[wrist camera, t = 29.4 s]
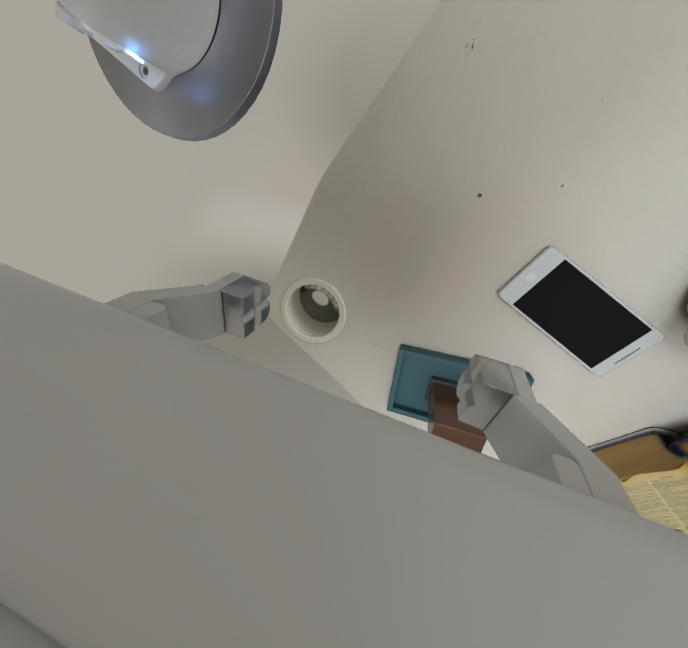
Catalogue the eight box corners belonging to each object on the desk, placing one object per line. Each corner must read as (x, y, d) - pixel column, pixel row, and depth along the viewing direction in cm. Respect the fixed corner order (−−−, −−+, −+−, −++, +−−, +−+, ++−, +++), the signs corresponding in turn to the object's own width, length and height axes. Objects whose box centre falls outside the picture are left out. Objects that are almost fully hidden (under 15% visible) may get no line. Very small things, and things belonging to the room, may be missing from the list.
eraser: (431, 375, 37) (432, 419, 29) (476, 386, 36) (491, 436, 27) (425, 397, 39) (424, 446, 30) (468, 409, 37) (479, 464, 29)
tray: (388, 403, 42) (386, 410, 40) (400, 343, 38) (399, 349, 36) (501, 435, 38) (504, 444, 36) (529, 372, 34) (534, 380, 32)
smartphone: (549, 244, 29) (553, 245, 28) (660, 334, 28) (667, 338, 28) (495, 293, 32) (497, 295, 31) (595, 374, 32) (599, 378, 31)
